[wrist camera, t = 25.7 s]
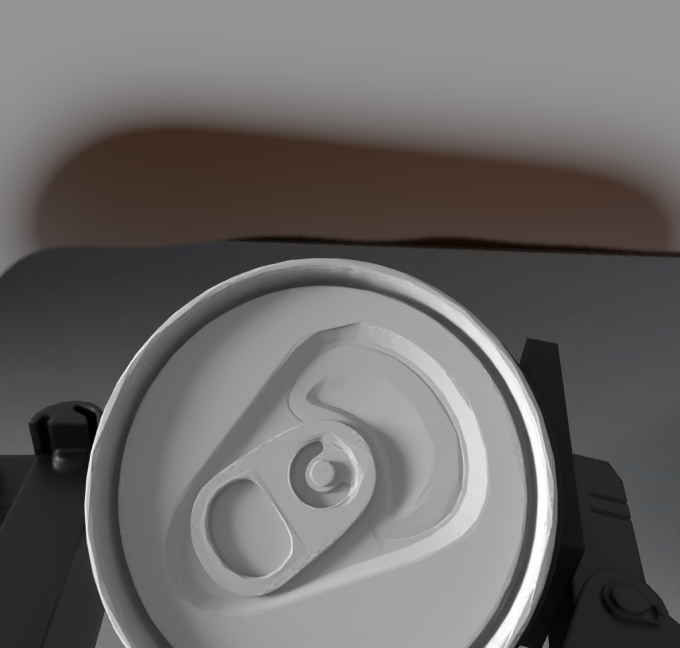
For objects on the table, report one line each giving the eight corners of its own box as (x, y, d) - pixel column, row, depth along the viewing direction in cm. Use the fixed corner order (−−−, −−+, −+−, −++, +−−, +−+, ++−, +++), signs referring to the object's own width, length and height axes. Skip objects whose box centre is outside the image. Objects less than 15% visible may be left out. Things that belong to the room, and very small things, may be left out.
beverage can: (523, 515, 18) (730, 550, 6) (346, 652, 17) (228, 955, 6) (391, 346, 20) (370, 139, 8) (228, 464, 19) (-35, 418, 8)
